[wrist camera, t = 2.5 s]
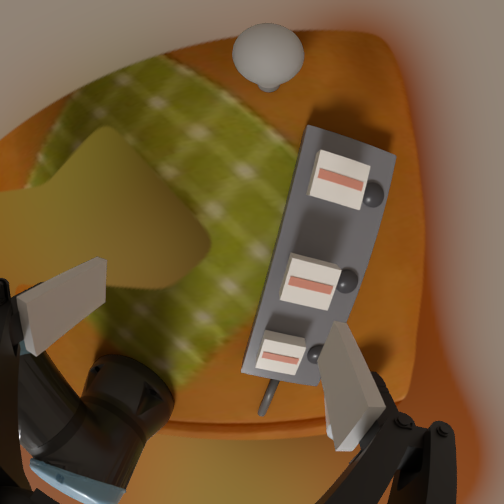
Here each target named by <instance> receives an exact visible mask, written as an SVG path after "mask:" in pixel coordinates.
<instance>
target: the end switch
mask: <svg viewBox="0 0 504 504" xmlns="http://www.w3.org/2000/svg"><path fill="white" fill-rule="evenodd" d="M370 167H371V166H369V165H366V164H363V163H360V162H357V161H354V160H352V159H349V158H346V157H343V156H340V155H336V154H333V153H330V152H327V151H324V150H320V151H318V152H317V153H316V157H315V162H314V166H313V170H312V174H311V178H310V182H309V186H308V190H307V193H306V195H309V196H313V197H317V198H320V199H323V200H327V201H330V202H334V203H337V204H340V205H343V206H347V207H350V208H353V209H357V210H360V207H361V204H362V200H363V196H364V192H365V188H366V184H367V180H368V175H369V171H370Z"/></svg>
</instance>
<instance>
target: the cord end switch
mask: <svg viewBox="0 0 504 504" xmlns="http://www.w3.org/2000/svg"><path fill="white" fill-rule="evenodd" d="M305 350H306V343H305V338H302V337H297V336H292V335H287V334H282V333H278V332H273V331H269V330H265V331H264V335H263V338H262V341H261V344H260V347H259V350H258V353H257V357H256V365H255V368H259V369H264V370H269V371H274V372H279V373H285V374H290V375H295V374H296V371H297V369H298V367H299V364H300V362H301V360H302V357H303V355H304V352H305Z"/></svg>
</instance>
